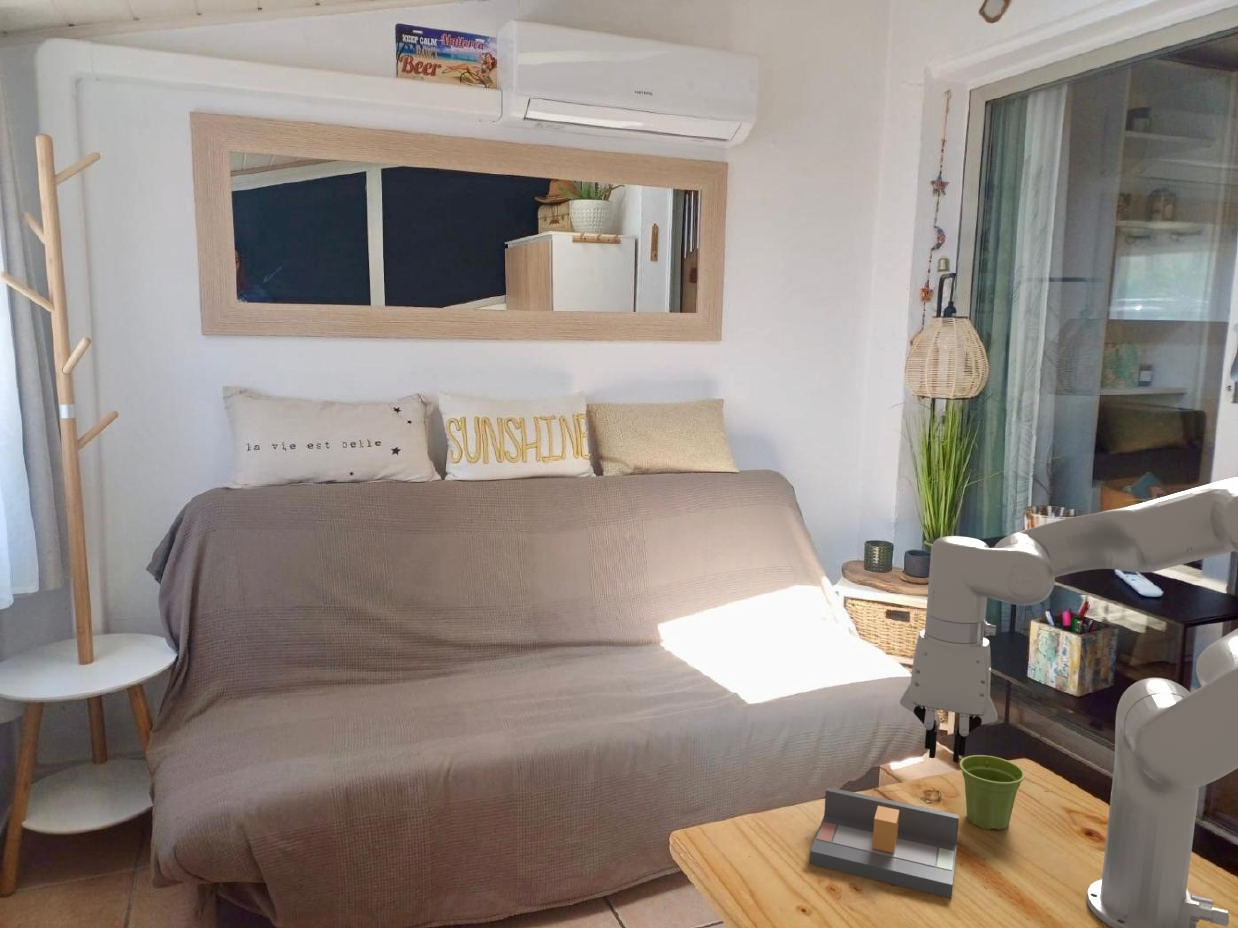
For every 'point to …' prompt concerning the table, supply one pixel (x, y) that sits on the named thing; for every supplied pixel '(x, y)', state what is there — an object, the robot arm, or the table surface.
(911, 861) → the switch panel
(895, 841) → the handle
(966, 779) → the plant pot
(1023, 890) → the table surface
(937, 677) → the robot arm
